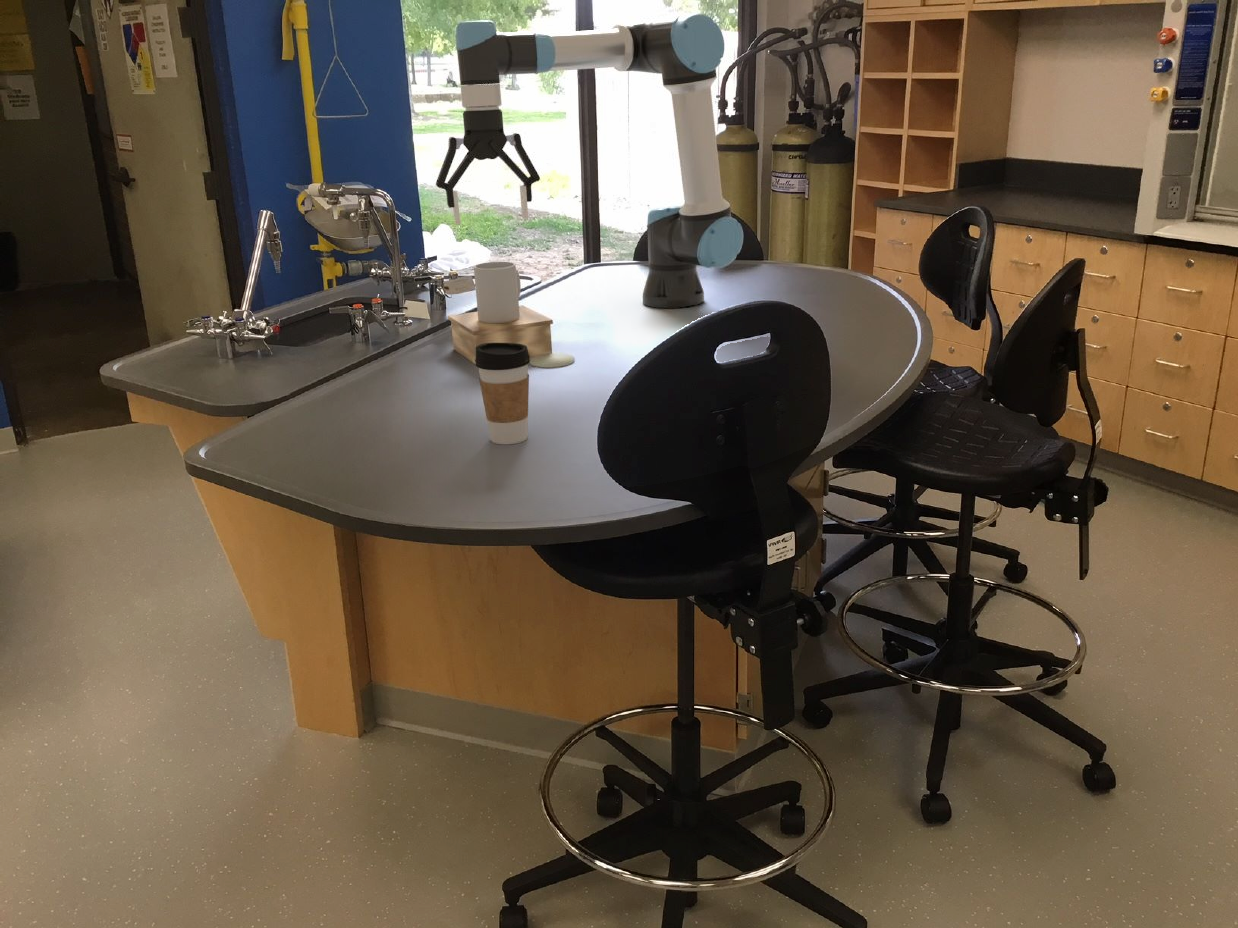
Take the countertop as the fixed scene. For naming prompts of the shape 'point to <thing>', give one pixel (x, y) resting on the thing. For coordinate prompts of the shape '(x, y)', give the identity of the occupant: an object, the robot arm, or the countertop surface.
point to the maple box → (502, 333)
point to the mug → (497, 292)
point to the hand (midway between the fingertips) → (491, 222)
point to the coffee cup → (504, 390)
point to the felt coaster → (552, 360)
